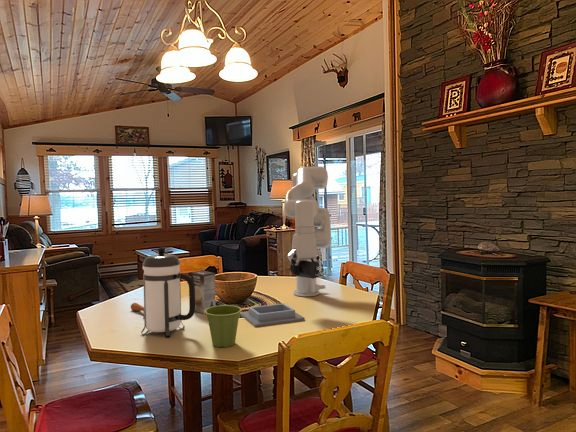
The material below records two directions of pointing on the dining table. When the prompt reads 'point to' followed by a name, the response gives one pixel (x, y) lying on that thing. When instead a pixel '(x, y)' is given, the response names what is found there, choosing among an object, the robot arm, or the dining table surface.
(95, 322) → the dining table surface
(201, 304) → the coffee box
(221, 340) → the plant pot
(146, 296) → the coffee press
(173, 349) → the dining table surface
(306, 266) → the black lumpy block
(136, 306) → the kendama
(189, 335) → the dining table surface
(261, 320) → the tray
